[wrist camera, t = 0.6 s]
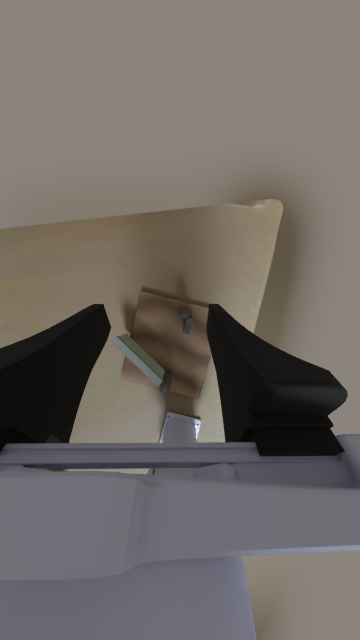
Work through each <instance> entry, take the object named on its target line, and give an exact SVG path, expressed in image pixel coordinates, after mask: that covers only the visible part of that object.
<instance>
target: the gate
mask: <svg viewBox="0 0 360 640" xmlns="http://www.w3.org/2000/svg"><path fill="white" fill-rule="evenodd" d="M112 343H113V344H114V345H115V346H116V347H117V348H118V349H119V350H120V351H121V352H122V353H123V354H124V355H126V356H127V357H128V358H129V359H130V360H131V361H132V362H133V363H134V364H135V365H136V366H137V367H138V368H139V369H140V370H141V371H142V372H143V373H144V374H145V375H146V376H147V377H149V378H150V379H151V380H152V381H153V382H154V383H155V384H156V385H157V386H159V385H160V384H161V383H162V382H163V376H164V373H165V370H164V369H163V368H162V367H161V366H160V365H159V364H158V363H157V362H156V361H155V360H154V359H153V358H152V357H151V356H150V355H148V354H147V353H146V352H145V351H144V350H143V349H142V348H141V347H140V346H139V345H138V344H137V343H136V342H135V341H134V340H133V339H132V338H131V337H130V336H129V335H128V334H124V335H122V336H117V337H116V338H115V339H114V340H113V341H112Z"/></svg>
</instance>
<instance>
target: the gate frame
mask: <svg viewBox="0 0 360 640" xmlns="http://www.w3.org/2000/svg"><path fill="white" fill-rule="evenodd" d="M208 310H209V308H206V307H202V306H198V305H194V304H190V303H186V302H183V301H179V300H175V299H171V298H167V297H163V296H159V295H155V294H151V293H148V292H144V291H141V294H140V298H139V303H138V307H137V311H136V315H135V319H134V324H133V328H132V332H131V336H130V337H131V338H132V339H133V340H134V341H135V342H136V343H137V344H138V345H139V346H140V347H141V348H142V349H143V350H144V351H145V352H146V353H147V354H148V355H150V356H151V357H152V358H153V359H154V360H155V361H156V362H157V363H158V364H159V365H160V366H161V367H162V368H163V369H164V370H165V373H164V376H163V382H162V383H161V384H160V385H159V386H157V385H156V384H155V383H154V382H153V381H152V380H151V379H150V378H149V377H147V376H146V375H145V374H144V373H143V372H142V371H141V370H140V369H139V368H138V367H137V366H136V365H135V364H134V363H133V362H132V361H131V360H130V359H129V358H128V357H127V356H126V357H125V362H124V366H123V370H122V374H121V378H120V379H123V380H127V381H131V382H135V383H139V384H143V385H146V386H150V387H154V388H158V389H160V390H161V391H162V392H168V391H170V392H173V393H177V394H181V395H185V396H189V397H193V398H197V399H199V396H200V393H201V389H202V385H203V382H204V378H205V374H206V371H207V367H208V363H209V360H210V356H211V350H210V346H209V342H208V338H207V330H206V325H207V318H208Z"/></svg>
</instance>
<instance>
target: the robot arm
mask: <svg viewBox="0 0 360 640" xmlns="http://www.w3.org/2000/svg"><path fill="white" fill-rule="evenodd" d="M110 329H111V326H110V323H109V320H108V317H107V314H106V311H105V308H104V305H103V304H93V305H91V306H89V307H87V308H85V309H83V310H81V311H80V312H78V313H76V314H74V315H73V316H71V317H69V318H67V319H66V320H64V321H62V322H60V323H58V324H56V325H54V326H52V327H50V328H48V329H46V330H44V331H42V332H40V333H38V334H36V335H33V336H31V337H29V338H26V339H24V340H21V341H19V342H16V343H14V344H11V345H8V346H6V347H3V348H0V640H257V639H256V634H255V628H254V622H253V617H252V611H251V605H250V600H249V594H248V588H247V583H246V577H245V572H244V566H243V560H242V556H253V555H272V554H290V553H309V552H327V551H346V550H360V434H343V435H338V436H335V435H334V434H333V433H332V431H331V429H330V428H331V427H333V423H332V422H331V420H330V419H329V418H328V415H329V414H330V413H332V412H333V411H334V410H336V409H337V408H338V407H340V406H341V405H342V404H343V403H344V402H345V401H346V398H347V395H348V394H347V391H346V389H345V388H344V387H343V386H342V385H341V384H340V383H339V381H338V380H337V379H336V378H335V377H334V376H333V375H332V374H331V372H330V371H328V370H326V369H323V368H321V367H318V366H316V365H313V364H311V363H308V362H306V361H303V360H301V359H299V358H296V357H295V356H292V355H290V354H288V353H286V352H284V351H282V350H280V349H278V348H276V347H274V346H273V345H271V344H269V343H267V342H265V341H264V340H262V339H261V338H259V337H258V336H256V335H255V334H253V333H252V332H250V331H249V330H247V329H246V328H245V327H244V326H242V325H241V324H240V323H239V322H237V321H236V320H235V319H234V318H233V317H232V316H231V315H229V314H228V313H227V312H226V311H225V310H224V309H223V308H222V307H221V306H220V305H219V304H209V310H208V318H207V325H206V330H207V338H208V342H209V346H210V350H211V354H212V357H213V361H214V365H215V369H216V373H217V379H218V386H219V393H220V399H221V407H222V415H223V423H224V432H225V441H226V442H225V443H197V439H196V438H197V435H198V431H199V428H200V424H201V420H200V419H196V418H192V417H188V416H185V415H181V414H177V413H173V412H167V415H166V418H165V422H164V426H163V430H162V434H161V438H160V441H159V443H69V440H70V436H71V432H72V429H73V425H74V421H75V417H76V414H77V411H78V408H79V404H80V401H81V398H82V395H83V392H84V389H85V386H86V384H87V381H88V379H89V376H90V373H91V371H92V369H93V367H94V365H95V363H96V361H97V359H98V357H99V355H100V353H101V351H102V349H103V347H104V345H105V343H106V341H107V339H108V336H109V333H110ZM168 416H169V417H168ZM198 423H199V424H198ZM115 468H150V469H149V471H148V473H147V475H146V474H126V473H120V472H103V471H51V470H44V469H115Z"/></svg>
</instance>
